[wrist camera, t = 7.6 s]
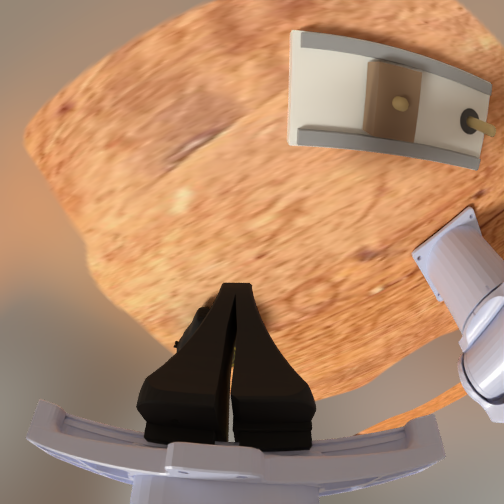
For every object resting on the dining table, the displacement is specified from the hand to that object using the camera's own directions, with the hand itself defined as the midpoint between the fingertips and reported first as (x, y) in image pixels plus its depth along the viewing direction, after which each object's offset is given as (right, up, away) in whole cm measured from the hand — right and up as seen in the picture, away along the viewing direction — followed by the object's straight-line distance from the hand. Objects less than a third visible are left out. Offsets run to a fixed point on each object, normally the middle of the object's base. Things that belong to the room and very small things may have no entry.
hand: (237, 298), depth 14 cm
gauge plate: (+12, +13, +3) cm, 18 cm away
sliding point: (+10, +12, +2) cm, 16 cm away
